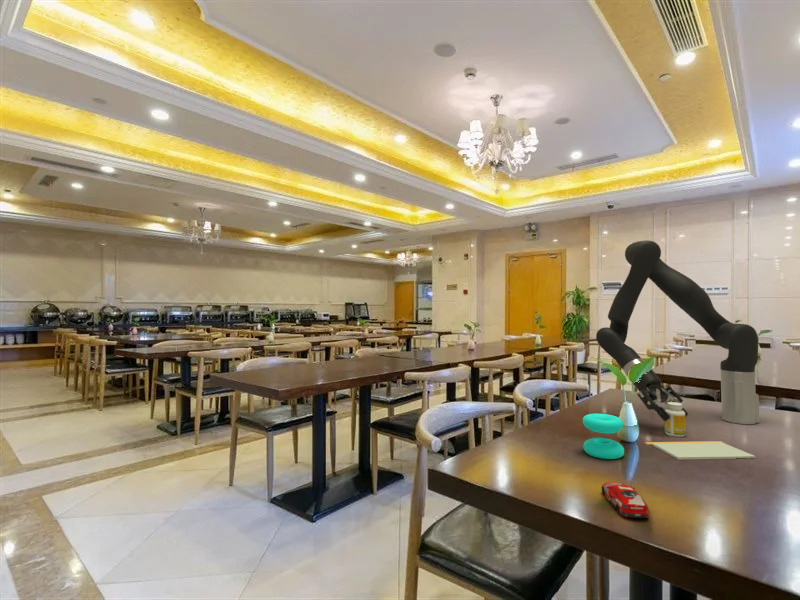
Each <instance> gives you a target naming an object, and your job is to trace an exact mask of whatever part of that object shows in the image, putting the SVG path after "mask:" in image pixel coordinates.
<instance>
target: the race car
mask: <svg viewBox="0 0 800 600" xmlns="http://www.w3.org/2000/svg"><path fill="white" fill-rule="evenodd" d="M601 492H602V493H603V494H604V495H603V494H602V495H603V496H604V497H605V498H606V499H607V501H608V502H609V503H610V504H611V506H612V507H613V506H614V507H613V508H614V509H615V510H616V511H617V510H618V512H619V513H620V514H619V513H618V512H617V513H618V514H619V515H621V516H623V517H626V518H630V519H631V518H636V519H643V518H644V519H648V518H649V517H650V516H649V515H650V513H649V511H650V510H649V507H648V505H647V503H646V502H645V500H644V499H643V498H642V497H641V495H640V494H639V493H638V492H637V490H636V489H635V487H634V486H633V487H632V486H631V485H628V484H627V485H626V484H625V483H621V482H616V481H615V482H613V481H610V482H608V481H607V482H605V483H603V484H602V485H601Z"/></svg>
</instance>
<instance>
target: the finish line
mask: <svg viewBox="0 0 800 600" xmlns="http://www.w3.org/2000/svg"><path fill="white" fill-rule="evenodd" d="M663 443H725V442H723V441H721V440H719V441H718V440H717V441H716V440H714V441H713V440H712V441H711V440H710V441H709V440H707V441H706V440H705V441H701V440H700V441H649V442H648V441H645V442H644V445H647V446H653V444H663Z"/></svg>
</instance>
